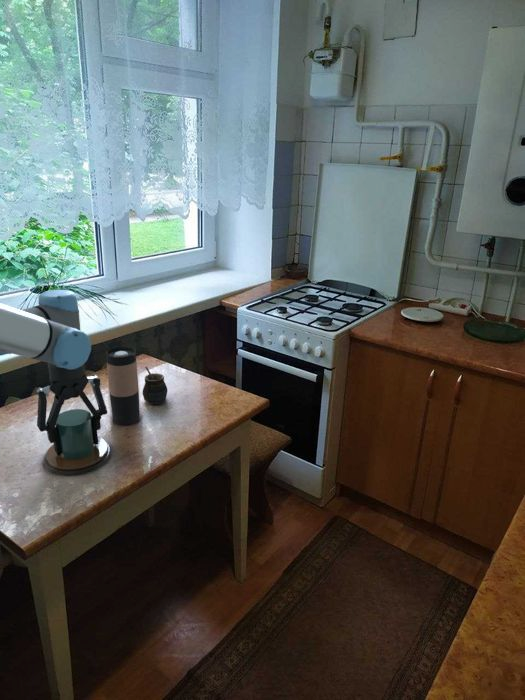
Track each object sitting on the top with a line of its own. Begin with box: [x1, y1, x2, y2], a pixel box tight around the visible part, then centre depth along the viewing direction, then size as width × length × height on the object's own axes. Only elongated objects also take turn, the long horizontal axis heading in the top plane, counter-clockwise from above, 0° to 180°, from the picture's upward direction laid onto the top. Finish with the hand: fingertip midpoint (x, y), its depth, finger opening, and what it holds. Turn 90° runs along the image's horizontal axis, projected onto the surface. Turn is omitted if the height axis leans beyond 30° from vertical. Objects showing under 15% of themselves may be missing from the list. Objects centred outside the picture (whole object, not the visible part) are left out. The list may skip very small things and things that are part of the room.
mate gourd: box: [142, 366, 168, 406], centre depth 145 cm, size 7×8×10 cm
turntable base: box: [43, 441, 111, 476], centre depth 119 cm, size 15×15×1 cm
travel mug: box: [105, 346, 140, 426], centre depth 133 cm, size 8×8×20 cm
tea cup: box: [45, 408, 109, 470], centre depth 117 cm, size 14×14×10 cm
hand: (76, 446), depth 118 cm, fingers closed on tea cup, 8 cm apart
